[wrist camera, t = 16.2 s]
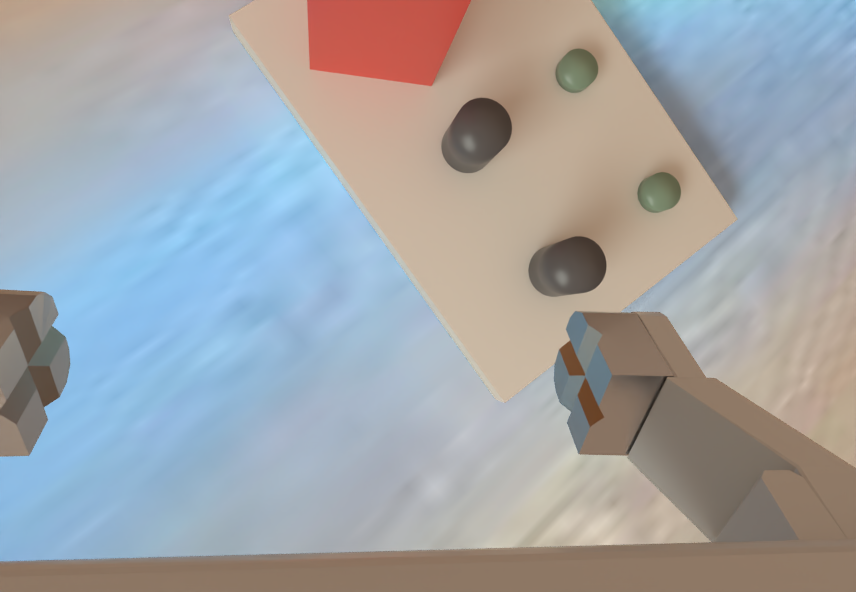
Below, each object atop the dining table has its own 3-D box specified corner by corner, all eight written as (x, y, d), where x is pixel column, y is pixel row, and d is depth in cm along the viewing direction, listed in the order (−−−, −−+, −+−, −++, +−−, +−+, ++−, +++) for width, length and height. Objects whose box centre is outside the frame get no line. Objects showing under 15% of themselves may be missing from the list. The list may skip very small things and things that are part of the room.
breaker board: (233, 32, 28) (217, -24, 24) (487, -119, 31) (516, -195, 26) (495, 399, 29) (526, 411, 25) (718, 224, 32) (782, 207, 27)
